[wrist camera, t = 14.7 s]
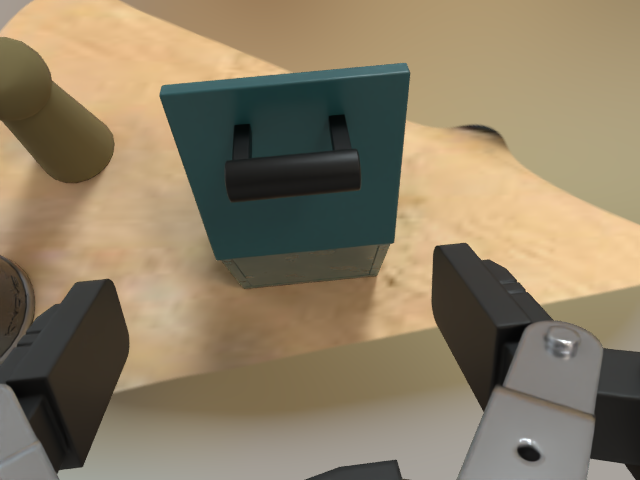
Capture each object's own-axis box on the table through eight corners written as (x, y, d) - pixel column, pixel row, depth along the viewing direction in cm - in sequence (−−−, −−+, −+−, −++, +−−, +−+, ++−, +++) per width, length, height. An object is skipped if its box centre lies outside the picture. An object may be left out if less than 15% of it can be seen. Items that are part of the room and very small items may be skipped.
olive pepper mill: (128, 134, 40) (58, 42, 30) (85, 195, 38) (-5, 120, 28) (69, 106, 41) (-20, 6, 30) (25, 163, 39) (-85, 80, 29)
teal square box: (237, 167, 39) (212, 106, 31) (361, 155, 39) (370, 91, 31) (243, 289, 36) (218, 258, 28) (377, 276, 36) (392, 241, 28)
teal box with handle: (161, 84, 20) (142, 160, 16) (407, 61, 20) (435, 132, 17) (216, 250, 28) (211, 323, 24) (391, 233, 28) (408, 303, 24)
